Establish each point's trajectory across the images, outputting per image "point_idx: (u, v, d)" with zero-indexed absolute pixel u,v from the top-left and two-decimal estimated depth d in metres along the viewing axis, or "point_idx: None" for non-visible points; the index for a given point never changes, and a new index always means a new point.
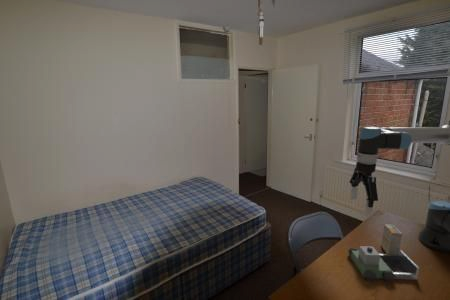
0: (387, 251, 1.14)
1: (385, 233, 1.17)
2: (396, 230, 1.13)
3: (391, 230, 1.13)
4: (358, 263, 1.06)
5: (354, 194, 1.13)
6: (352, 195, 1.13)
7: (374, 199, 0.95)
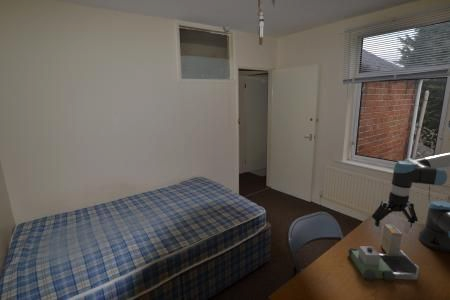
0: (387, 251, 1.14)
1: (385, 233, 1.17)
2: (396, 230, 1.13)
3: (391, 230, 1.13)
4: (358, 263, 1.06)
5: (406, 228, 1.14)
6: (404, 228, 1.15)
7: (373, 217, 1.14)
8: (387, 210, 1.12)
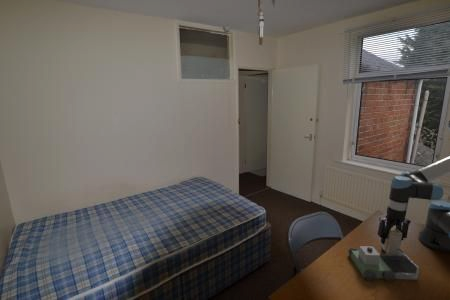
0: (387, 251, 1.14)
1: None
2: (396, 230, 1.13)
3: (391, 230, 1.13)
4: (358, 263, 1.06)
5: None
6: None
7: (379, 234, 1.16)
8: (388, 226, 1.14)
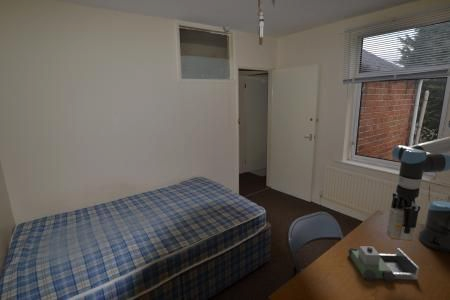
0: (410, 237, 0.99)
1: (401, 221, 0.98)
2: None
3: None
4: (358, 263, 1.06)
5: None
6: None
7: (412, 226, 0.94)
8: (410, 211, 0.96)
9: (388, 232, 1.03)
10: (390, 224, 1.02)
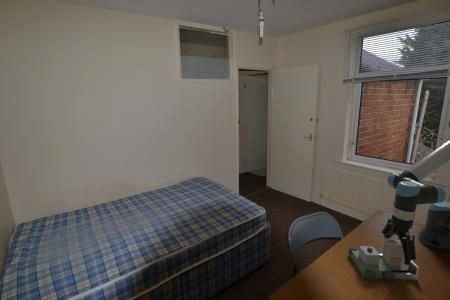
0: None
1: (395, 253, 1.02)
2: (399, 241, 1.04)
3: None
4: (358, 263, 1.06)
5: None
6: None
7: (412, 258, 0.94)
8: None
9: None
10: (385, 255, 1.06)
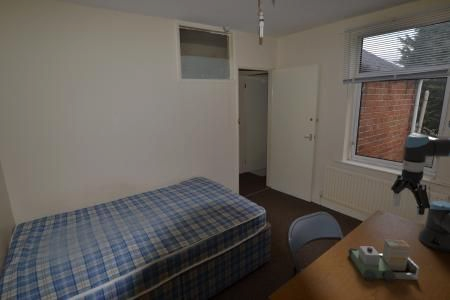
0: (403, 268, 1.03)
1: (395, 253, 1.02)
2: (399, 241, 1.04)
3: (404, 245, 1.01)
4: (358, 263, 1.06)
5: (397, 201, 1.13)
6: (395, 202, 1.13)
7: (426, 207, 0.96)
8: (418, 192, 1.01)
9: None
10: (384, 255, 1.06)
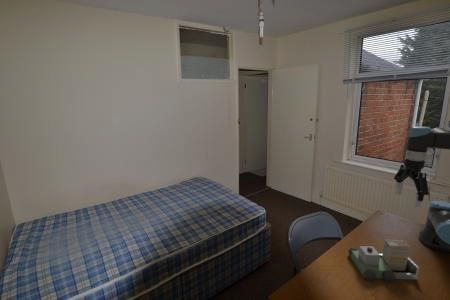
0: (403, 268, 1.03)
1: (395, 253, 1.02)
2: (399, 241, 1.04)
3: (404, 245, 1.01)
4: (358, 263, 1.06)
5: (399, 189, 1.20)
6: (397, 190, 1.20)
7: (425, 193, 1.03)
8: (419, 180, 1.07)
9: None
10: (384, 255, 1.06)
